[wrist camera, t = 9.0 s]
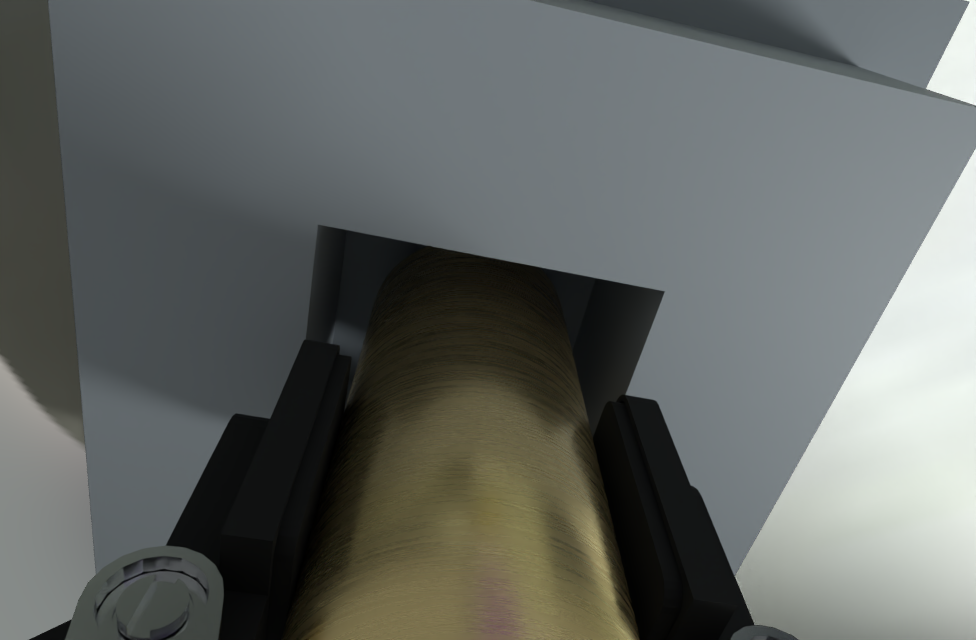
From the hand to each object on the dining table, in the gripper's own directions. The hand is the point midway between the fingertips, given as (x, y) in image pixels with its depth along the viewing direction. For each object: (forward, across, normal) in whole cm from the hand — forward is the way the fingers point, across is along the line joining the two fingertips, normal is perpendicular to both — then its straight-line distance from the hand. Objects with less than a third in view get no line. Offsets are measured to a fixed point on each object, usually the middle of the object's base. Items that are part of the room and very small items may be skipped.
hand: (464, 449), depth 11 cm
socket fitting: (+6, 0, 0) cm, 6 cm away
